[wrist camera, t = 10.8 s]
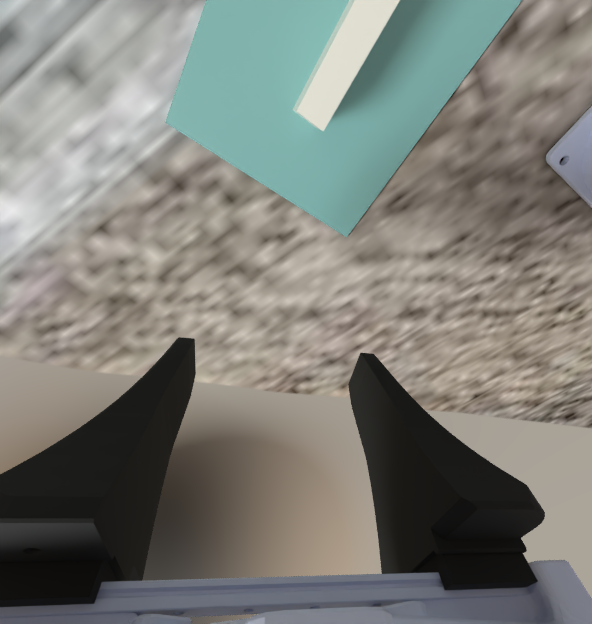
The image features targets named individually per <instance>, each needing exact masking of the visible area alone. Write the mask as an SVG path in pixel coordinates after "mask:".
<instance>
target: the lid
mask: <svg viewBox="0 0 592 624" xmlns="http://www.w3.org/2000/svg"><path fill="white" fill-rule="evenodd" d="M521 1H522V0H206V3H205V6H204V9H203V12H202V15H201V18H200V21H199V23H198V26H197V29H196V32H195V35H194V38H193V41H192V44H191V47H190V50H189V53H188V56H187V59H186V62H185V65H184V68H183V71H182V74H181V77H180V80H179V83H178V86H177V89H176V92H175V95H174V98H173V101H172V104H171V107H170V110H169V113H168V116H167V119H166V122H165V123H167V124H168V125H170V126H172V127H173V128H175V129H176V130H178V131H179V132H181V133H183V134H184V135H186V136H187V137H189V138H190V139H192V140H194V141H195V142H197V143H198V144H200V145H202V146H203V147H205V148H206V149H208V150H209V151H211V152H213V153H214V154H216V155H217V156H219V157H221V158H222V159H224V160H225V161H227V162H228V163H230V164H232V165H233V166H235V167H236V168H238V169H239V170H241V171H243V172H244V173H246V174H247V175H249V176H251V177H252V178H254V179H255V180H257V181H258V182H260V183H262V184H263V185H265V186H266V187H268V188H270V189H271V190H273V191H274V192H276V193H277V194H279V195H281V196H282V197H284V198H285V199H287V200H288V201H290V202H292V203H293V204H295V205H296V206H298V207H300V208H301V209H303V210H304V211H306V212H307V213H309V214H311V215H312V216H314V217H315V218H317V219H319V220H320V221H322V222H323V223H325V224H326V225H328V226H330V227H331V228H333V229H334V230H336V231H337V232H339V233H341V234H342V235H344V236H345V237H347V236H348V235H349V233H350V232H351V231H352V229H353V228H354V227H355V225H356V224H357V223H358V221H359V220H360V219H361V217H362V216H363V215H364V213H365V212H366V210H367V209H368V208H369V206H370V205H371V204H372V202H373V201H374V200H375V198H376V197H377V196H378V194H379V193H380V192H381V190H382V189H383V187H384V186H385V185H386V183H387V182H388V181H389V179H390V178H391V177H392V175H393V174H394V173H395V171H396V170H397V169H398V167H399V166H400V164H401V163H402V162H403V160H404V159H405V158H406V156H407V155H408V154H409V152H410V151H411V150H412V148H413V147H414V146H415V144H416V143H417V141H418V140H419V139H420V137H421V136H422V135H423V133H424V132H425V131H426V129H427V128H428V127H429V125H430V124H431V123H432V121H433V120H434V118H435V117H436V116H437V114H438V113H439V112H440V110H441V109H442V108H443V106H444V105H445V104H446V102H447V101H448V100H449V98H450V97H451V96H452V94H453V93H454V91H455V90H456V89H457V87H458V86H459V85H460V83H461V82H462V81H463V79H464V78H465V77H466V75H467V74H468V73H469V71H470V70H471V68H472V67H473V66H474V64H475V63H476V62H477V60H478V59H479V58H480V56H481V55H482V54H483V52H484V51H485V50H486V48H487V47H488V45H489V44H490V43H491V41H492V40H493V39H494V37H495V36H496V35H497V33H498V32H499V31H500V29H501V28H502V27H503V25H504V24H505V22H506V21H507V20H508V18H509V17H510V16H511V14H512V13H513V12H514V10H515V9H516V8H517V6H518V5H519V4H520V2H521Z"/></svg>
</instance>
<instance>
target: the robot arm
mask: <svg viewBox="0 0 592 624" xmlns="http://www.w3.org/2000/svg"><path fill="white" fill-rule="evenodd" d="M562 157H564V159H563V161H562V162H561V163H560V164H559V162H560V160H561V158H562ZM546 162H547V163H548V164H549V165H550V166H551V167H552V168H553V169H554V170H555V171H556V172H557V173H558V174H559V175H560V176H561V177H562V178H563V179H564V180H565V181H566V183H567V184H568V185H569V186H570V187H571V188H572V189H573V190H574V191H575V192H576V193H577V194H578V195H579V196H580V197H581V198H582V199H583V200H584V201H585V202H586V203H587V204H588V205H589V206H590V207H591V208H592V106H591V107H590V108H589V109H588V110H587V111H586V112H585V114H584V115H583V116H582V117H581V118H580V119H579V120H578V121H577V122H576V123H575V124H574V125H573V126H572V127H571V128H570V129H569V130H568V132H567V133H566V134H565V135H564V136H563V137H562V138H561V139H560V140H559V141H558V142H557V143H556V144H555V145H554V146H553V147H552V148H551V149H550V151H549V152H548V153H547V156H546ZM195 374H196V372H195V339H191V338H178V339H176V341H175V342H174V343H173V344H172V346H171V347H170V348H169V349H168V350H167V351H166V353H165V354H164V355H163V356H162V357H161V358H160V359H159V360H158V361H157V362H156V364H155V365H154V366H153V367H152V368H151V369H150V370H149V371H148V372H147V373H146V374H145V375H144V376H143V377H142V378H141V379H140V380H139V381H138V382H137V383H135V384H134V385H133V386H132V387H131V388H130V389H129V390H128V391H127V392H126V393H125V394H123V395H122V396H121V397H120V398H119V399H118V400H116V401H115V402H114V403H112V404H111V405H110V406H109V407H107V408H106V409H105V410H104V411H102V412H101V413H100V414H98V415H97V416H95V417H94V418H93V419H91V420H90V421H89V422H87V423H86V424H84V425H83V426H81V427H80V428H79V429H77V430H76V431H74V432H72V433H71V434H69V435H68V436H66V437H65V438H63V439H62V440H60V441H58V442H57V443H55V444H54V445H52V446H50V447H49V448H47V449H46V450H44V451H42V452H41V453H39V454H37V455H35V456H33V457H32V458H30V459H28V460H26V461H24V462H23V463H21V464H19V465H17V466H15V467H13V468H12V469H10V470H8V471H6V472H4V473H2V474H0V624H192V621H191V619H190V618H186V617H200V616H222V615H242V614H258V615H255V616H252V617H251V618H248V619H240V620H232V621H225V622H217V623H210V624H592V598H591V597H590V595H589V594H588V592H587V591H586V589H585V588H584V586H583V585H582V583H581V581H580V580H579V578H578V577H577V575H576V573H575V572H574V570H573V569H572V567H571V566H570V564H569V563H568V562H567V561H565V560H548V561H534V562H531V563H528V562H527V561H526V559H525V557H524V555H523V553H524V552H526V547H525V545H524V543H523V541H522V540H521V537H523V536H524V535H525V534H527V533H528V532H530V531H531V530H533V529H534V528H536V527H537V526H538V525H540V524H541V523H542V521H543V520H544V517H545V512H544V510H543V509H542V508H541V506H540V504H539V503H538V501H537V500H536V498H535V497H534V495H533V494H532V492H531V491H530V489H529V488H528V487H527V485H526V484H524V483H523V482H521V481H519V480H518V479H516V478H514V477H513V476H511V475H509V474H508V473H506V472H504V471H503V470H501V469H500V468H498V467H496V466H495V465H493V464H492V463H490V462H489V461H487V460H486V459H485V458H483V457H482V456H480V455H479V454H477V453H476V452H475V451H473V450H472V449H470V448H469V447H468V446H466V445H465V444H464V443H462V442H461V441H460V440H458V439H457V438H456V437H455V436H453V435H452V434H451V433H449V431H447V430H446V429H445V428H444V427H442V426H441V425H440V424H439V423H438V422H437V421H436V420H435V419H434V418H432V417H431V416H430V415H429V414H428V413H427V412H426V411H425V410H424V409H423V408H422V407H421V406H420V405H419V404H418V403H417V402H416V401H415V400H414V399H413V398H412V397H411V396H410V395H409V394H408V393H407V392H406V391H405V389H404V388H403V387H402V386H401V385H400V384H399V383H398V382H397V381H396V379H395V378H394V377H393V376H392V375H391V374H390V372H389V371H388V370H387V369H386V368H385V367H384V365H383V364H382V363H381V362H380V361H379V360H378V358H377V357H376V356H375V355H374V354H368V353H360V356H359V358H358V361H357V364H356V366H355V369H354V371H353V374H352V376H351V379H350V382H349V391H350V399H351V405H352V409H353V413H354V416H355V420H356V424H357V427H358V430H359V434H360V438H361V441H362V445H363V448H364V452H365V456H366V460H367V465H368V470H369V476H370V482H371V487H372V494H373V501H374V507H375V515H376V523H377V531H378V539H379V548H380V559H381V568H382V569H381V570H382V574H366V575H332V576H331V575H330V576H329V575H328V576H293V577H259V578H223V579H222V578H221V579H189V580H187V579H185V580H150V581H142V579H143V574H144V569H145V564H146V560H147V555H148V550H149V545H150V540H151V535H152V531H153V526H154V522H155V517H156V513H157V508H158V504H159V500H160V495H161V491H162V487H163V483H164V478H165V475H166V471H167V467H168V462H169V458H170V455H171V452H172V448H173V445H174V442H175V439H176V437H177V434H178V431H179V428H180V425H181V422H182V419H183V417H184V414H185V411H186V408H187V405H188V402H189V399H190V396H191V392H192V387H193V383H194V379H195Z"/></svg>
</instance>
